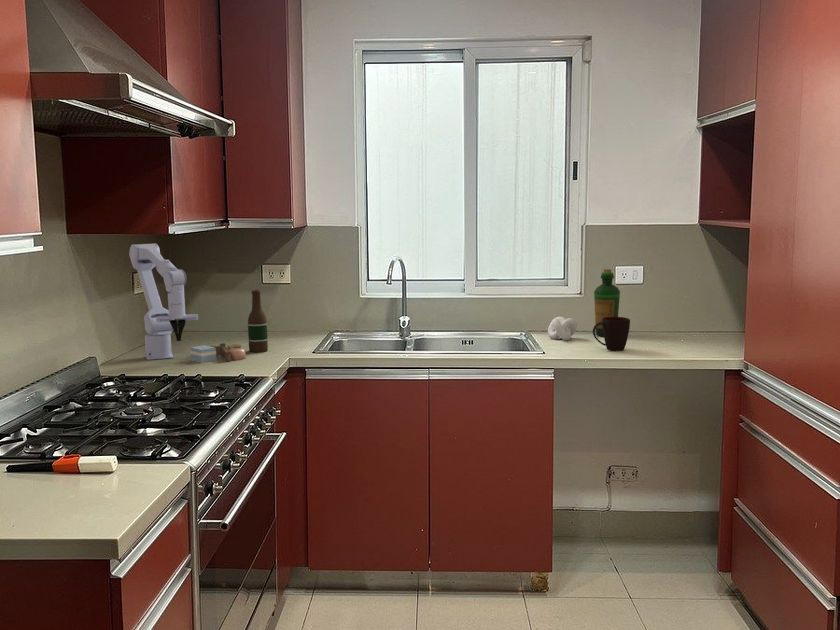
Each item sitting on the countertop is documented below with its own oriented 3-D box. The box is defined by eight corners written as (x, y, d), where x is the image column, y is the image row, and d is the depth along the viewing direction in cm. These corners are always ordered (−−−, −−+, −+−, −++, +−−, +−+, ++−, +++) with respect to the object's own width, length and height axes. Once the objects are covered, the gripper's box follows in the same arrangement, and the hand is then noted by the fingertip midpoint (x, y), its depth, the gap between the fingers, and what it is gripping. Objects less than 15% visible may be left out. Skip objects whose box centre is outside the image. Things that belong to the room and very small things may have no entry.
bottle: (588, 335, 342) (589, 269, 338) (608, 333, 346) (609, 268, 342) (603, 338, 332) (605, 271, 328) (624, 336, 337) (626, 269, 333)
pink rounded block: (230, 361, 297) (229, 351, 296) (227, 358, 302) (227, 349, 302) (246, 359, 299) (246, 350, 298) (244, 356, 305) (243, 347, 304)
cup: (632, 351, 303) (633, 320, 302) (597, 353, 302) (597, 321, 300) (623, 347, 313) (623, 316, 311) (588, 348, 312) (589, 317, 310)
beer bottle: (264, 353, 311) (261, 291, 307) (245, 352, 312) (242, 291, 309) (271, 349, 318) (269, 289, 315) (253, 349, 320) (250, 289, 317)
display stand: (199, 363, 292) (199, 352, 291) (195, 356, 306) (194, 345, 305) (231, 361, 295) (230, 349, 295) (225, 354, 310) (224, 342, 309)
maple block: (231, 357, 304) (230, 346, 304) (227, 355, 308) (227, 345, 307) (241, 355, 306) (240, 345, 306) (237, 354, 310) (237, 344, 309)
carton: (201, 363, 293) (200, 349, 293) (190, 360, 299) (190, 347, 298) (216, 361, 297) (215, 347, 297) (205, 358, 303) (204, 345, 303)
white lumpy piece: (540, 339, 334) (540, 317, 333) (558, 335, 342) (558, 314, 341) (562, 342, 326) (562, 320, 324) (580, 338, 334) (580, 317, 332)
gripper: (156, 306, 286) (158, 343, 287) (198, 303, 291) (200, 340, 293) (155, 303, 292) (157, 340, 294) (196, 301, 297) (198, 337, 299)
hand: (178, 340), depth 294 cm, fingers closed
